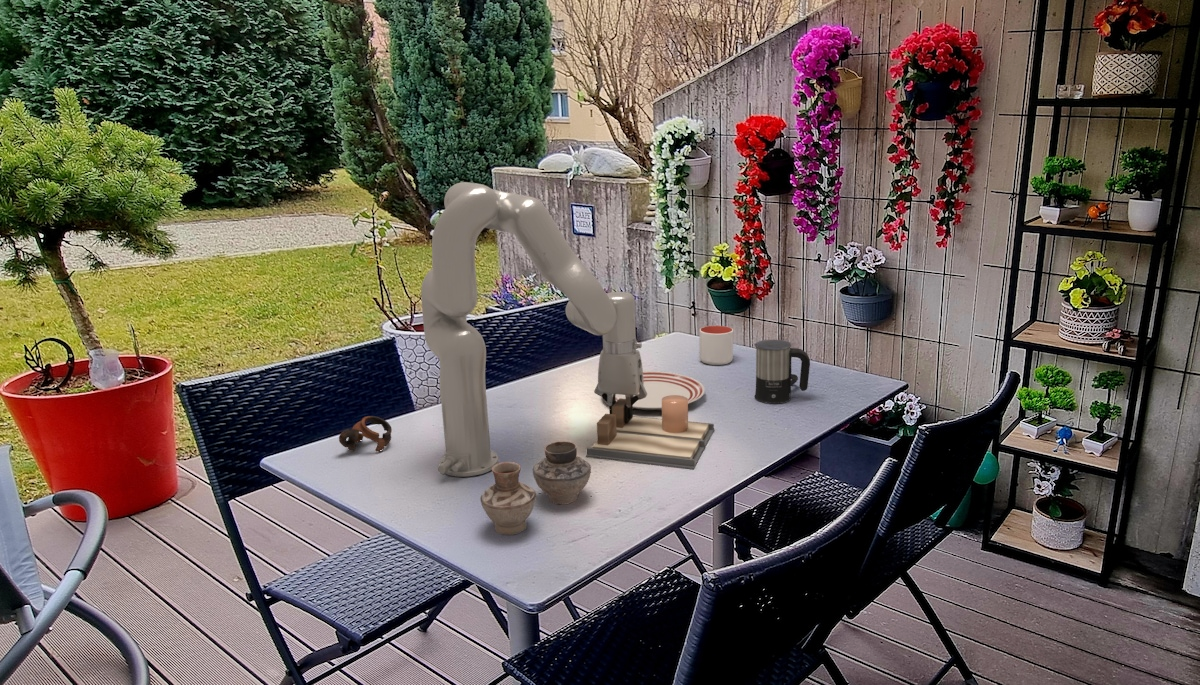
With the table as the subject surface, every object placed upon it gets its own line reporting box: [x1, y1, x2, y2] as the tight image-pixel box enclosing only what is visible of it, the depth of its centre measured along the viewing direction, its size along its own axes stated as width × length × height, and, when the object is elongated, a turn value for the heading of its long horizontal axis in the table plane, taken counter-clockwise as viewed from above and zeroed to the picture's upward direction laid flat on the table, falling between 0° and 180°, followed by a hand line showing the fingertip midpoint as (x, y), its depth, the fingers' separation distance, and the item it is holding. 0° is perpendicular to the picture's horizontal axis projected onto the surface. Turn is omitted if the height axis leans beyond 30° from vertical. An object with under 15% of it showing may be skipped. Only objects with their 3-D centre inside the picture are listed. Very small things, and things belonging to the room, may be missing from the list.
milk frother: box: [753, 339, 811, 405], centre depth 203 cm, size 14×16×15 cm
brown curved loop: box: [338, 415, 393, 451], centre depth 177 cm, size 12×10×8 cm
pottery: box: [479, 440, 592, 536], centre depth 145 cm, size 11×25×12 cm, turn 141°
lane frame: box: [585, 415, 715, 470], centre depth 176 cm, size 22×24×2 cm
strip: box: [591, 413, 699, 459], centre depth 170 cm, size 9×22×6 cm, turn 71°
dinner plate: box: [616, 370, 706, 411], centre depth 205 cm, size 27×27×3 cm
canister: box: [661, 395, 689, 433], centre depth 178 cm, size 6×6×7 cm
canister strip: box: [612, 398, 709, 440], centre depth 180 cm, size 9×22×6 cm, turn 71°
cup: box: [698, 325, 734, 366], centre depth 233 cm, size 10×10×10 cm
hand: (621, 420), depth 183 cm, fingers closed on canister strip, 2 cm apart
